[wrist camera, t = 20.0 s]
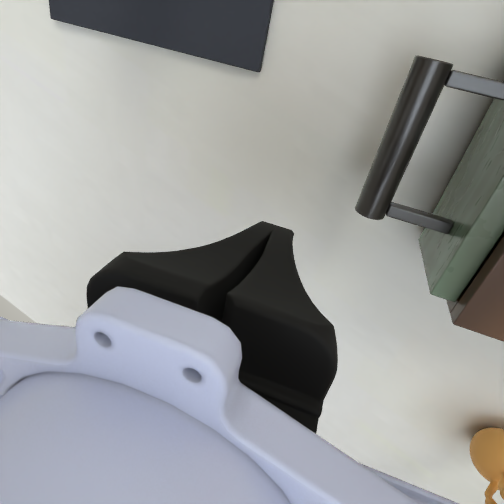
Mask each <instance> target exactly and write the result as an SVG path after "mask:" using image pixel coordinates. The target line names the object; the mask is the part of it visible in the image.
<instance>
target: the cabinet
mask: <svg viewBox="0 0 504 504" xmlns="http://www.w3.org/2000/svg"><path fill="white" fill-rule="evenodd" d="M447 304H448V307H449V311H450V313H451V314H450V315H451V318H452V322H453V324H454V325H457V326H460V327H463V328H466V329H469V330H472V331H475V332H478V333H481V334H483V335H486V336H489V337H492V338H495V339H498V340H501V341H504V237H503V238H502V240H501V241H500V242H499V244H498V245H497V247H496V248H495V250H494V251H493V253H492V254H491V256H490V257H489V258H488V260H487V261H486V263H485V264H484V266H483V267H482V269H481V270H480V271H479V269H478V270H477V271H476V273H475V274H474V276H473V277H472V279H471V280H470V282H469V283H468V284H467V286H466V287H465V289H464V290H463V292H462V293H461V295H460V296H459V298H458V299H457V301H456V302H452V301H449V300H447Z"/></svg>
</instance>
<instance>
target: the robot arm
mask: <svg viewBox="0 0 504 504" xmlns="http://www.w3.org/2000/svg"><path fill="white" fill-rule="evenodd" d="M293 236H294V233H293V231H292V230H289V229H286V228H283V227H280V226H276V225H273V224H270V223H267V222H264V221H261V222H259V223H257V224H255V225H253V226H251V227H249V228H248V229H246V230H244V231H242V232H240V233H237V234H235V235H233V236H231V237H228V238H226V239H223V240H221V241H218V242H215V243H212V244H209V245H205V246H201V247H197V248H191V249H185V250H179V251H171V252H156V253H142V252H123V253H121V254H120V255H119V256H117V257H116V258H115V259H113V260H112V261H111V262H110V263H108V264H107V265H106V266H105V267H103V268H102V269H101V270H100V271H99V272H97V273H96V274H95V275H94V276H93V277H92V278H91V279H90V281H89V283H88V285H87V304H88V309H87V310H86V311H85V312H84V313H83V314H82V315H80V316H79V317H78V319H77V323H76V327H67V326H58V325H48V324H38V323H28V322H19V321H10V320H8V319H5V318H3V317H0V504H458V503H456V502H454V501H451V500H449V499H446V498H444V497H441V496H439V495H436V494H434V493H432V492H429V491H427V490H424V489H422V488H419V487H417V486H414V485H412V484H409V483H407V482H405V481H402V480H400V479H397V478H395V477H392V476H390V475H387V474H385V473H383V472H380V471H378V470H375V469H373V468H370V467H368V466H365V465H363V464H360V463H358V462H357V461H355V460H354V459H352V458H351V457H349V456H348V455H346V454H345V453H343V452H342V451H340V450H339V449H337V448H336V447H334V446H333V445H332V444H330V443H329V442H327V441H326V440H324V439H323V438H321V437H320V436H318V435H317V434H316V431H317V424H318V418H319V417H320V415H321V412H322V406H323V400H324V398H325V396H326V394H327V392H328V390H329V388H330V386H331V384H332V382H333V380H334V378H335V375H336V371H337V363H338V359H337V343H336V336H335V330H334V326H333V325H332V324H331V323H330V322H329V321H328V320H327V319H326V318H325V317H324V316H323V315H322V314H321V313H320V311H319V310H318V309H317V308H316V306H315V305H314V304H313V303H312V301H311V299H310V298H309V296H308V295H307V293H306V291H305V289H304V287H303V285H302V283H301V280H300V278H299V275H298V272H297V268H296V265H295V260H294V255H293V246H292V240H293Z"/></svg>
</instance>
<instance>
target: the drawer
mask: <svg viewBox="0 0 504 504" xmlns="http://www.w3.org/2000/svg"><path fill="white" fill-rule="evenodd" d="M452 67H453V64H452V63H447V62H443V61H439V60H435V59H430V58H426V57H422V56H415V58H414V60H413V63H412V65H411V68H410V70H409V73H408V75H407V78H406V80H405V83H404V86H403V88H402V91H401V93H400V96H399V98H398V101H397V103H396V106H395V108H394V111H393V113H392V116H391V118H390V121H389V123H388V126H387V128H386V131H385V133H384V136H383V139H382V141H381V144H380V146H379V149H378V151H377V154H376V156H375V159H374V161H373V164H372V166H371V169H370V171H369V174H368V176H367V179H366V181H365V184H364V186H363V189H362V192H361V194H360V197H359V199H358V202H357V204H356V207H355V210H356V211H357V212H358V213H359V214H361V215H362V216H364V217H367V218H370V219H374V220H381V219H383V218H384V216H385V214H386V216H389V217H392V218H395V219H399V220H402V221H405V222H408V223H412V224H415V225H418V226H422V227H425V229H424V230H423V232H422V234H421V236H420V238H419V244H420V249H421V253H422V258H423V262H424V267H425V271H426V276H427V281H428V285H429V290H430V294H432V295H434V296H437V297H440V298H443V299H446V300H449V301H452V302H456V301H457V299H458V298H459V296H460V295H461V293H462V292H463V290H464V289H465V287H466V286H467V284H468V283H469V282H470V280H471V279H472V277H473V276H474V274H475V273H476V271H477V270H478V269H479V271H480V270H481V269H482V267H483V266H484V264H485V263H486V261H487V260H488V258H489V257H490V256H491V254H492V253H493V251H494V250H495V248H496V247H497V245H498V244H499V242H500V241H501V240H502V238H503V237H504V81H503V82H502V81H498V80H493V79H489V78H485V77H481V76H477V75H472V74H468V73H464V72H460V71H455V70H451V69H452ZM444 86H446V87H450V88H454V89H459V90H463V91H467V92H471V93H475V94H479V95H483V96H487V97H491V98H494V100H493V102H492V104H491V106H490V107H489V109H488V111H487V113H486V115H485V117H484V119H483V120H482V122H481V124H480V126H479V128H478V130H477V132H476V134H475V135H474V137H473V139H472V141H471V143H470V145H469V147H468V148H467V150H466V152H465V154H464V156H463V158H462V160H461V161H460V163H459V165H458V167H457V169H456V171H455V173H454V174H453V176H452V178H451V180H450V182H449V184H448V186H447V188H446V189H445V191H444V193H443V195H442V197H441V199H440V201H439V202H438V204H437V206H436V208H435V210H434V212H433V214H431V213H427V212H424V211H420V210H417V209H414V208H410V207H407V206H404V205H400V204H397V203H394V202H391V201H392V199H393V197H394V194H395V192H396V190H397V188H398V186H399V183H400V181H401V179H402V177H403V175H404V172H405V170H406V168H407V166H408V164H409V161H410V159H411V157H412V155H413V153H414V150H415V148H416V146H417V144H418V142H419V139H420V137H421V135H422V133H423V131H424V128H425V126H426V124H427V122H428V120H429V117H430V115H431V113H432V111H433V109H434V106H435V104H436V102H437V100H438V98H439V95H440V93H441V91H442V89H443V87H444Z"/></svg>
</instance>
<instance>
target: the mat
mask: <svg viewBox="0 0 504 504" xmlns="http://www.w3.org/2000/svg"><path fill="white" fill-rule="evenodd" d="M273 2H274V0H49V6H50V16H51V19H54V20H58V21H62V22H65V23H69V24H73V25H77V26H81V27H85V28H89V29H93V30H97V31H100V32H104V33H108V34H112V35H116V36H120V37H124V38H128V39H131V40H135V41H139V42H143V43H147V44H151V45H155V46H159V47H162V48H166V49H170V50H174V51H178V52H182V53H186V54H190V55H194V56H197V57H201V58H205V59H209V60H213V61H217V62H221V63H225V64H228V65H232V66H236V67H240V68H244V69H248V70H252V71H256V72H260V71H261V66H262V60H263V55H264V50H265V44H266V39H267V34H268V28H269V23H270V18H271V12H272V7H273Z"/></svg>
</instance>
